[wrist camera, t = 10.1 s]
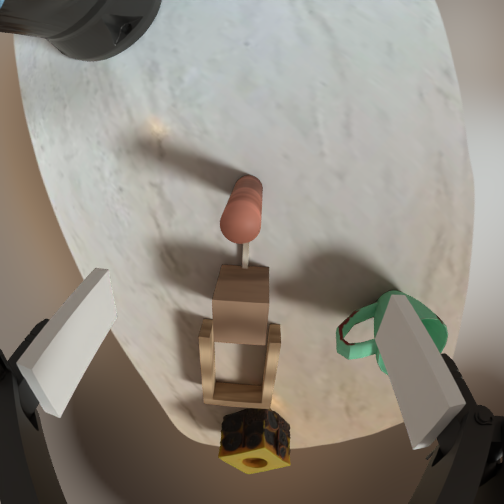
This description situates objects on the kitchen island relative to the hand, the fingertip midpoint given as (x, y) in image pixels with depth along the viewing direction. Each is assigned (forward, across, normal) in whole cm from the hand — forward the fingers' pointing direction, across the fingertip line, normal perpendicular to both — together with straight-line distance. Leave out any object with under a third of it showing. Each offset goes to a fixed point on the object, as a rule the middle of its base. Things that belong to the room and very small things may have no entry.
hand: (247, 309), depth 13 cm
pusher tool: (+23, -1, -8) cm, 25 cm away
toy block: (+23, +4, -46) cm, 51 cm away
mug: (+23, +18, -15) cm, 33 cm away
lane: (+23, -1, -27) cm, 35 cm away
